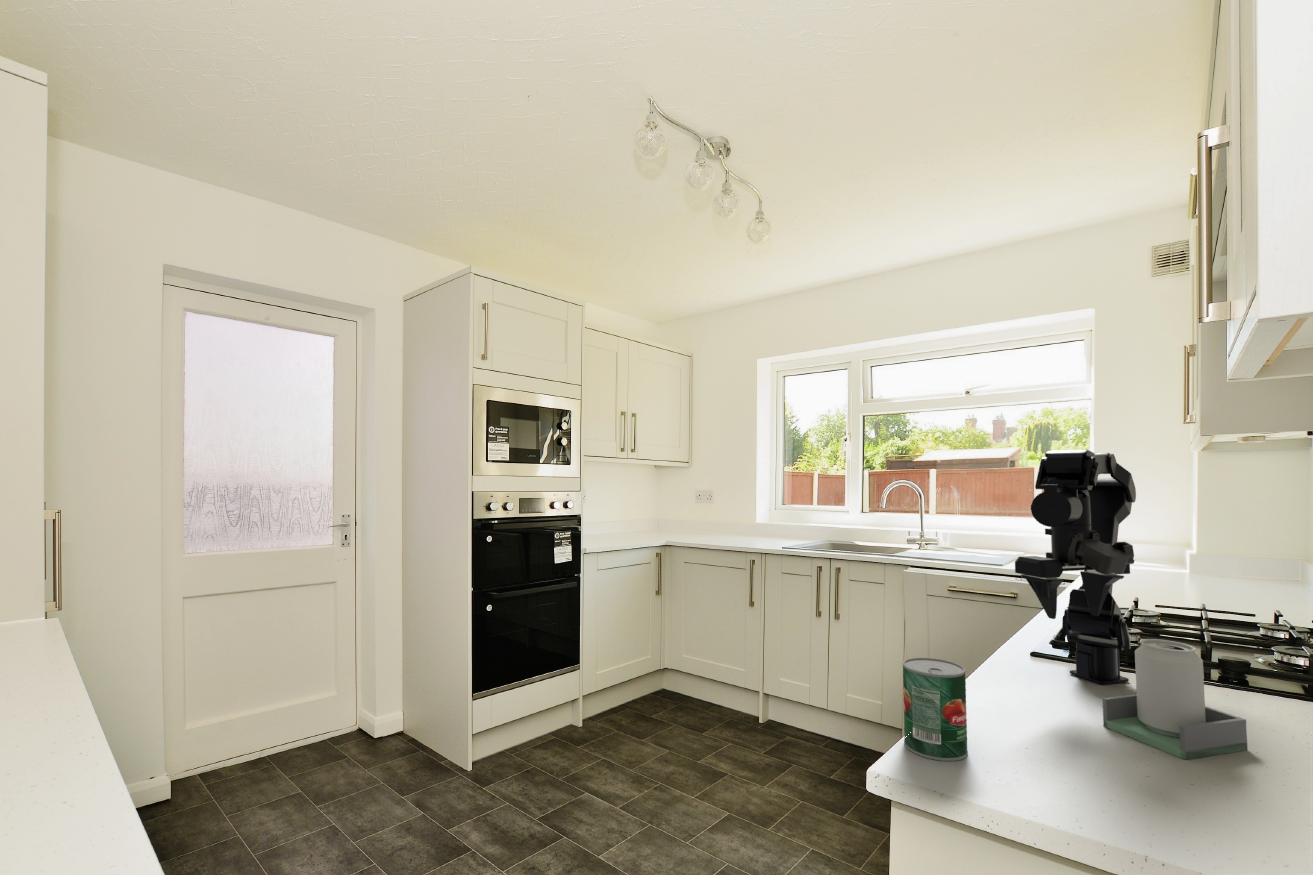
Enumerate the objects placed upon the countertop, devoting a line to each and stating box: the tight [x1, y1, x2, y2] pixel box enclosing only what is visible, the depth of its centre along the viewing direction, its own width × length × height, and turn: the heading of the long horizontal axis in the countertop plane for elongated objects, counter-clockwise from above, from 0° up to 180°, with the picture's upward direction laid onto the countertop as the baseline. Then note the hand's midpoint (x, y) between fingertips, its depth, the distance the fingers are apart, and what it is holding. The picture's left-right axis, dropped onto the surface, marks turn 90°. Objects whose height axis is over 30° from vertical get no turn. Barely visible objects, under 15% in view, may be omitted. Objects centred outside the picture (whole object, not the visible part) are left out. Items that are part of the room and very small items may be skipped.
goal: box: [1101, 693, 1248, 761], centre depth 88 cm, size 11×11×4 cm
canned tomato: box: [901, 657, 969, 762], centre depth 85 cm, size 8×8×11 cm
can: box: [1134, 638, 1206, 738], centre depth 88 cm, size 8×8×12 cm
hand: (1073, 616), depth 105 cm, fingers open, 9 cm apart
